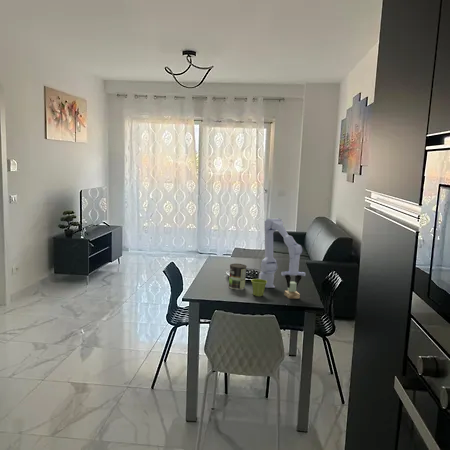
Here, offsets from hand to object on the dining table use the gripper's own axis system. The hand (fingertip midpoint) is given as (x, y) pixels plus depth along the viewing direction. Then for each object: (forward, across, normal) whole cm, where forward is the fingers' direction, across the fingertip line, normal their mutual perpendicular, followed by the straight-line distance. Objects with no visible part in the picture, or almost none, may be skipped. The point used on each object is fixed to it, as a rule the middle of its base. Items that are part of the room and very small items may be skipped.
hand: (292, 287), depth 256 cm
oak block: (+6, 0, 0) cm, 6 cm away
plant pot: (+6, -20, +2) cm, 21 cm away
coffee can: (+6, -30, +17) cm, 35 cm away
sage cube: (+2, 0, 0) cm, 2 cm away
